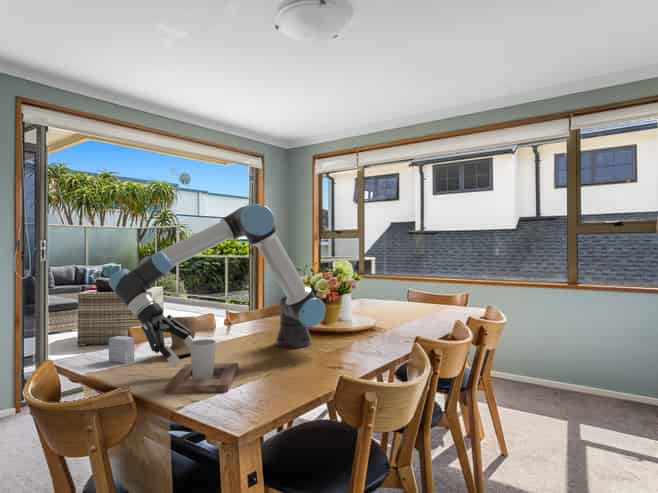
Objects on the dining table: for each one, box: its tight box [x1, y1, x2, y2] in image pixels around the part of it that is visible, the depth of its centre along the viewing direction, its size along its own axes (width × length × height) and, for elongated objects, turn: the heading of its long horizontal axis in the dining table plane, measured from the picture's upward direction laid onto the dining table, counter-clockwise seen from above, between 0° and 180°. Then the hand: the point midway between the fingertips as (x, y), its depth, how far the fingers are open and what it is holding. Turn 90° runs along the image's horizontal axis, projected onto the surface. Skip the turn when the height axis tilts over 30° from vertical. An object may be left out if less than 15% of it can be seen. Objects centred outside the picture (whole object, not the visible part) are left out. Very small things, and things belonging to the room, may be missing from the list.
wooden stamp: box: [169, 316, 198, 358], centre depth 160 cm, size 15×12×15 cm
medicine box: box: [108, 335, 135, 364], centre depth 150 cm, size 8×4×9 cm, turn 71°
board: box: [164, 362, 239, 394], centre depth 130 cm, size 18×22×2 cm
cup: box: [190, 338, 217, 380], centre depth 130 cm, size 8×8×12 cm
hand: (188, 358), depth 131 cm, fingers open, 13 cm apart
